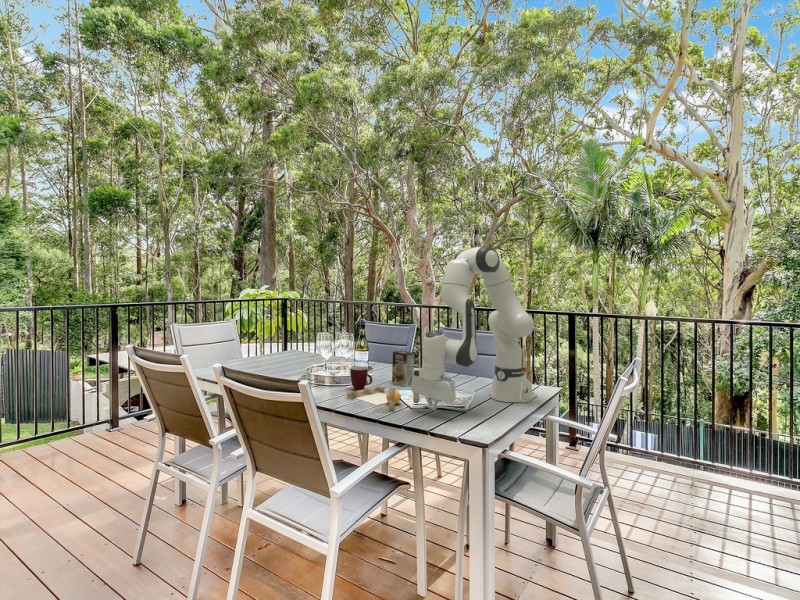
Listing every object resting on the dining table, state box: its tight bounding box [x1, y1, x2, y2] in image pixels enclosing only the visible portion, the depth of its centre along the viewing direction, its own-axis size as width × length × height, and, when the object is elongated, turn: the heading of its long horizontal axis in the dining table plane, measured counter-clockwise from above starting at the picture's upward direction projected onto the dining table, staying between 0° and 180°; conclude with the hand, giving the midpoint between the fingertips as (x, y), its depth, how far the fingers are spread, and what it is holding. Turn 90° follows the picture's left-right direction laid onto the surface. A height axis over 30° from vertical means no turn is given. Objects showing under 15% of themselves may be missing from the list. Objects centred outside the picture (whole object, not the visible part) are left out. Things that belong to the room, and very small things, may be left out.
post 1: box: [388, 386, 396, 412], centre depth 182 cm, size 2×2×9 cm
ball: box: [386, 389, 402, 405], centre depth 191 cm, size 6×6×6 cm
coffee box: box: [391, 350, 415, 388], centre depth 225 cm, size 9×6×16 cm
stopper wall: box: [346, 385, 386, 400], centre depth 204 cm, size 20×2×2 cm, turn 134°
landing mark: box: [355, 392, 389, 406], centre depth 199 cm, size 14×14×1 cm
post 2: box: [412, 392, 420, 403], centre depth 192 cm, size 2×2×9 cm
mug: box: [349, 366, 373, 391], centre depth 214 cm, size 10×8×10 cm
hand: (432, 409), depth 178 cm, fingers closed
